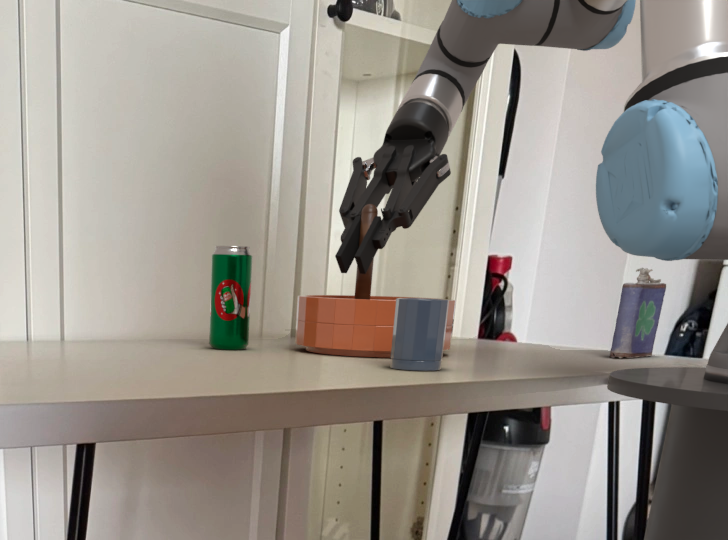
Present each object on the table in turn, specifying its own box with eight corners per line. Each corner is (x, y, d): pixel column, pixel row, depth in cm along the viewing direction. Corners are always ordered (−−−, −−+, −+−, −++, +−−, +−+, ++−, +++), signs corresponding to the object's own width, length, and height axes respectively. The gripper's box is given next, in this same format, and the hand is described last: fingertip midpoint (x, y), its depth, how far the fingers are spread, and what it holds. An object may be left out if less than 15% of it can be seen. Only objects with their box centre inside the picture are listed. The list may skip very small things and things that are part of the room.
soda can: (227, 346, 135) (230, 246, 130) (256, 349, 132) (261, 246, 127) (200, 347, 132) (203, 245, 127) (230, 350, 129) (234, 245, 124)
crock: (450, 369, 111) (459, 299, 108) (421, 371, 108) (429, 300, 105) (409, 365, 115) (416, 297, 112) (379, 367, 111) (386, 298, 108)
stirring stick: (371, 325, 132) (381, 204, 126) (361, 325, 131) (372, 203, 125) (358, 324, 134) (368, 204, 128) (349, 324, 132) (358, 203, 127)
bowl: (478, 354, 132) (485, 300, 129) (388, 361, 119) (394, 301, 117) (356, 344, 145) (360, 294, 142) (263, 349, 132) (266, 295, 129)
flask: (623, 358, 131) (640, 267, 127) (602, 357, 133) (617, 267, 129) (656, 356, 137) (673, 268, 133) (635, 354, 139) (651, 268, 135)
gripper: (483, 148, 131) (413, 290, 125) (376, 152, 139) (306, 286, 133) (472, 94, 125) (399, 241, 119) (362, 102, 133) (288, 240, 127)
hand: (350, 264), depth 126 cm, fingers closed on stirring stick, 2 cm apart
